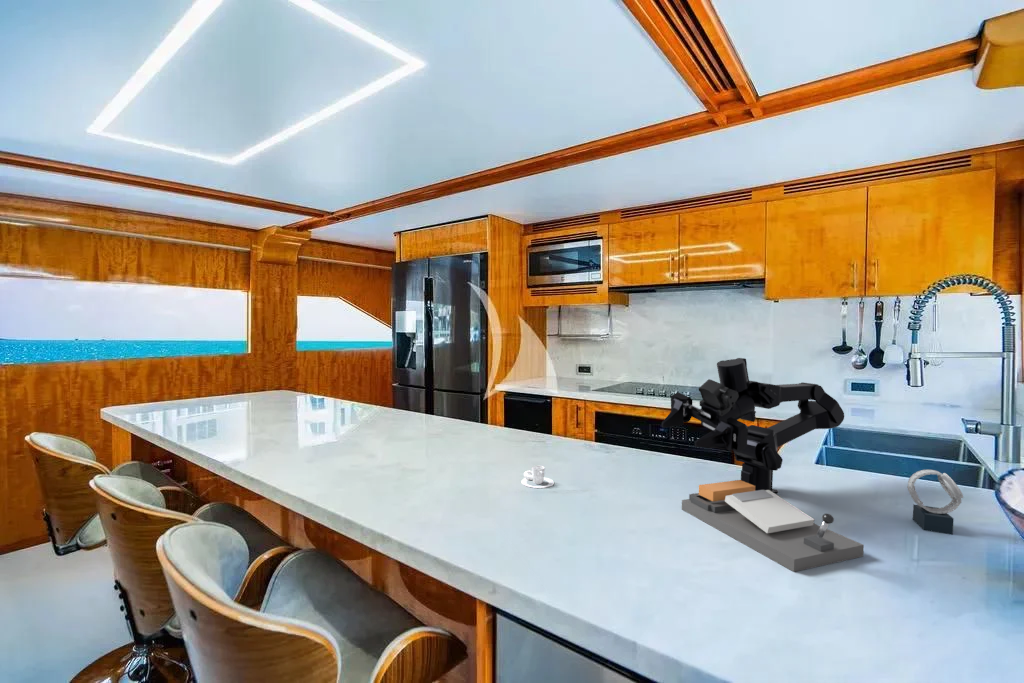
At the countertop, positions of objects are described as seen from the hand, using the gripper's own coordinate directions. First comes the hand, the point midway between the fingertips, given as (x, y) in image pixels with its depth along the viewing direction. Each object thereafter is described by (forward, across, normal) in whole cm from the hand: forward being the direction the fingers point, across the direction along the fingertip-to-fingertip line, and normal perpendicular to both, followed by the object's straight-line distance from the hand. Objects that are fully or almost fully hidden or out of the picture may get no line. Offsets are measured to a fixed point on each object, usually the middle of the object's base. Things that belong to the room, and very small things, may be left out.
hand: (678, 434), depth 100 cm
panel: (-2, +19, +12) cm, 23 cm away
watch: (-34, +33, +19) cm, 51 cm away
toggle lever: (-2, +29, +6) cm, 30 cm away
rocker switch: (-3, +19, +8) cm, 21 cm away
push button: (-4, +10, +12) cm, 15 cm away
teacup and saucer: (+22, -22, +16) cm, 35 cm away
